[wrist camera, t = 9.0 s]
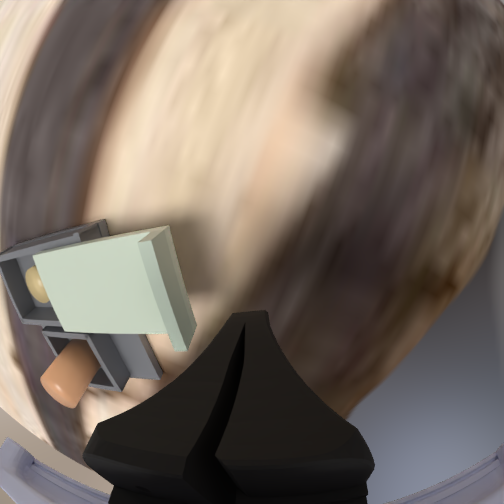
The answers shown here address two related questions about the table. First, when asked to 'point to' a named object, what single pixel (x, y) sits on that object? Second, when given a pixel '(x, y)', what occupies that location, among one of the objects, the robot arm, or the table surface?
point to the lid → (120, 286)
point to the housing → (42, 313)
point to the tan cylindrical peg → (71, 373)
